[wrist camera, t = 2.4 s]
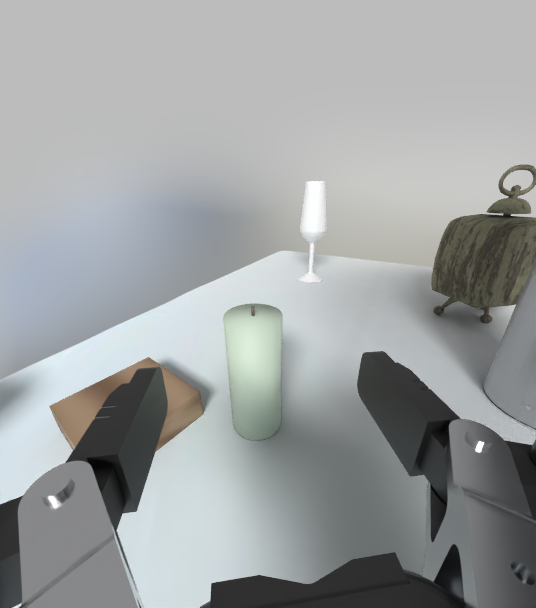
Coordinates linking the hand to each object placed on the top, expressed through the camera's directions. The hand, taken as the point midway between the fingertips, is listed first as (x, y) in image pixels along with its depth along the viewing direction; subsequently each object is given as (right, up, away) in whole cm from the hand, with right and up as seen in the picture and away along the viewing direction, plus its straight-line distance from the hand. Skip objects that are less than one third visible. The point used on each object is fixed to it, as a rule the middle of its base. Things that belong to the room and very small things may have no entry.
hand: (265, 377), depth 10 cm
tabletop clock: (+38, 0, +37) cm, 53 cm away
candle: (-1, -9, +16) cm, 19 cm away
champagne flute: (+12, +10, +59) cm, 61 cm away
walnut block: (-14, -9, +16) cm, 23 cm away
